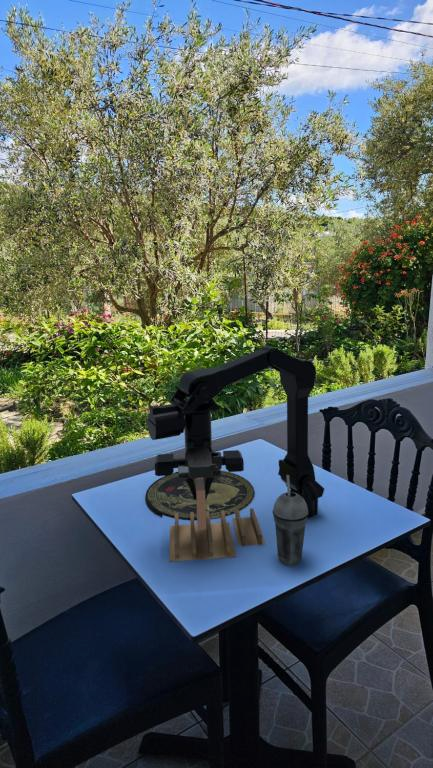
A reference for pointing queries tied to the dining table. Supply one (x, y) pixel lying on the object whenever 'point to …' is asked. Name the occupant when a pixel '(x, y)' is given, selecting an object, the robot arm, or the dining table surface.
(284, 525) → the beverage cup
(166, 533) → the dining table surface
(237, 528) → the holder
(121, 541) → the dining table surface
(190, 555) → the rack
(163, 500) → the decorative plate
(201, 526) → the wooden block
